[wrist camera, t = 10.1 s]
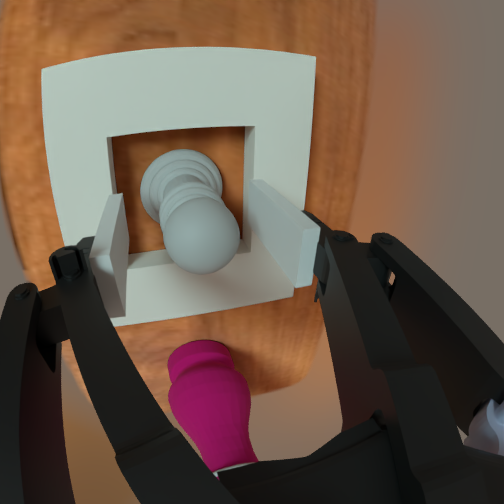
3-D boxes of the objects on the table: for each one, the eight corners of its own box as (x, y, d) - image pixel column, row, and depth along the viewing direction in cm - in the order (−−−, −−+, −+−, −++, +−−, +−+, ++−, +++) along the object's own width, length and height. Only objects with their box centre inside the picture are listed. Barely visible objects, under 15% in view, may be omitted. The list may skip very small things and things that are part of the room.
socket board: (52, 71, 12) (41, 68, 10) (300, 58, 17) (315, 56, 15) (95, 312, 21) (93, 329, 19) (283, 282, 26) (292, 296, 24)
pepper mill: (160, 338, 24) (222, 572, 8) (238, 331, 27) (337, 535, 11) (164, 385, 28) (214, 569, 11) (230, 378, 30) (302, 545, 14)
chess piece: (191, 131, 17) (225, 160, 10) (235, 193, 20) (291, 260, 13) (124, 182, 17) (108, 251, 10) (173, 239, 20) (194, 328, 13)
